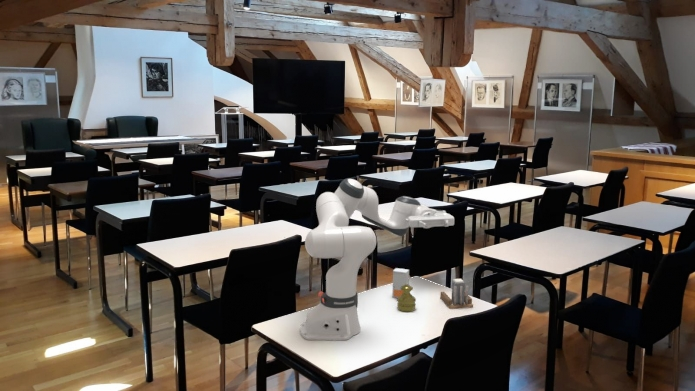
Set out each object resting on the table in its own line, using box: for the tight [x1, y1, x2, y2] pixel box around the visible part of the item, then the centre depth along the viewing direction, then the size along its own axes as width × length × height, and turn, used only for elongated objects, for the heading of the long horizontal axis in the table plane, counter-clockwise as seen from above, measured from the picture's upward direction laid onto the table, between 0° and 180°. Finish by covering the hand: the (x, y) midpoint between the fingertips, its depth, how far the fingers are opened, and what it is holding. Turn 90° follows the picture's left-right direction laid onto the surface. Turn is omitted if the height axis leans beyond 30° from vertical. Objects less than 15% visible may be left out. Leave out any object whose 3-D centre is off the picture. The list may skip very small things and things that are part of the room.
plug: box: [450, 278, 466, 305], centre depth 233 cm, size 4×4×11 cm
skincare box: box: [391, 267, 410, 298], centre depth 242 cm, size 6×4×12 cm
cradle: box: [439, 284, 474, 310], centre depth 235 cm, size 10×12×9 cm
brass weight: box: [396, 284, 417, 313], centre depth 229 cm, size 7×7×10 cm
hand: (436, 225), depth 243 cm, fingers open, 8 cm apart
